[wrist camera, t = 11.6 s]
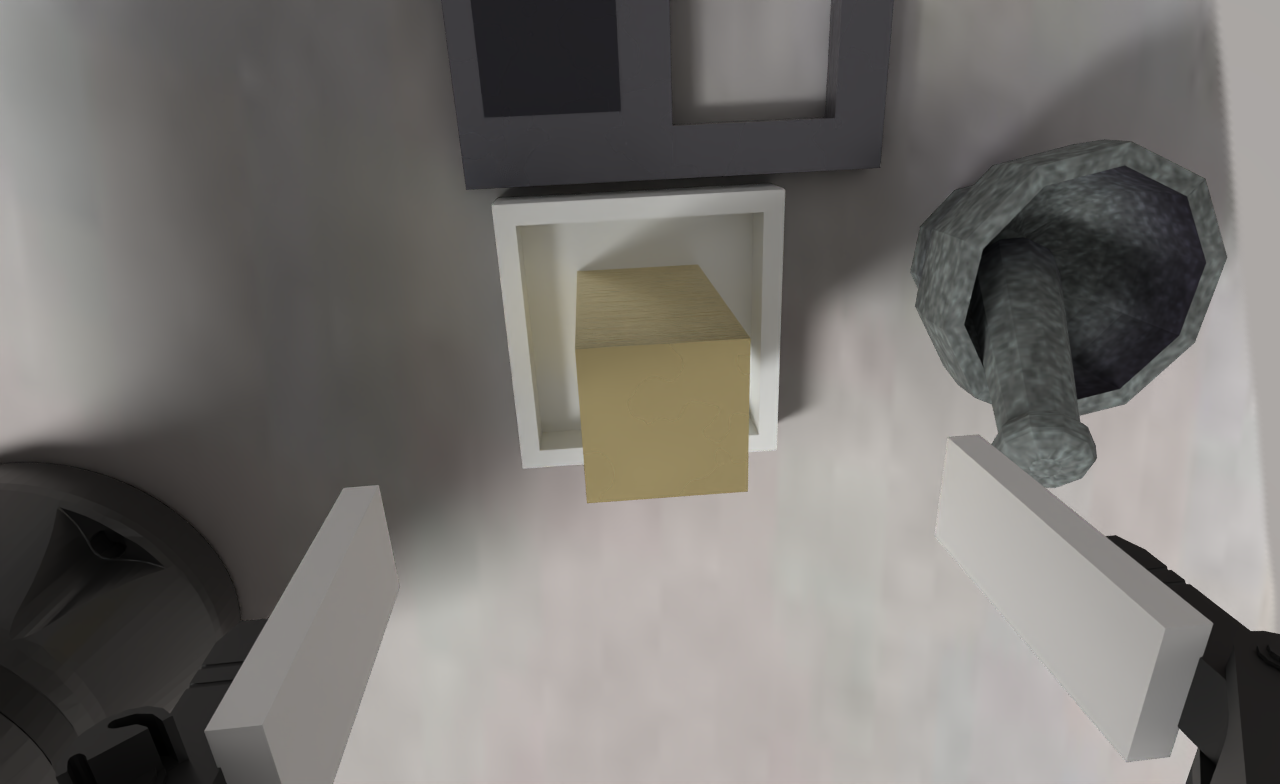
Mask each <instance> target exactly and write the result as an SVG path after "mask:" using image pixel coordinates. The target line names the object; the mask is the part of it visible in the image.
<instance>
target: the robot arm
mask: <svg viewBox="0 0 1280 784" xmlns="http://www.w3.org/2000/svg"><path fill="white" fill-rule="evenodd" d="M934 536H935V538H936V539H937V540H938V541H939V542H940V543H941V545H942V546H943V547H944V548H945V549H946V551H947V552H948V553H949V554H950V555H951V556H952V558H953V559H954V560H955V561H956V562H957V563H958V565H959V566H960V567H961V568H962V569H963V571H964V572H965V573H966V574H967V575H968V576H969V578H970V579H971V580H972V581H973V582H974V584H975V585H976V586H977V587H978V588H979V589H980V591H981V592H982V593H983V594H984V595H985V596H986V598H987V599H988V600H989V601H990V602H991V604H992V605H993V606H994V607H995V608H996V609H997V611H998V612H999V613H1000V614H1001V615H1002V617H1003V618H1004V619H1005V620H1006V621H1007V622H1008V624H1009V625H1010V626H1011V627H1012V628H1013V629H1014V631H1015V632H1016V633H1017V634H1018V635H1019V637H1020V638H1021V639H1022V640H1023V641H1024V642H1025V644H1026V645H1027V646H1028V647H1029V648H1030V649H1031V651H1032V652H1033V653H1034V654H1035V655H1036V657H1037V658H1038V659H1039V660H1040V661H1041V662H1042V664H1043V665H1044V666H1045V667H1046V668H1047V670H1048V671H1049V672H1050V673H1051V674H1052V675H1053V677H1054V678H1055V679H1056V680H1057V681H1058V682H1059V684H1060V685H1061V686H1062V687H1063V688H1064V690H1065V691H1066V692H1067V693H1068V694H1069V695H1070V697H1071V698H1072V699H1073V700H1074V701H1075V703H1076V704H1077V705H1078V706H1079V707H1080V708H1081V710H1082V711H1083V712H1084V713H1085V714H1086V715H1087V717H1088V718H1089V719H1090V720H1091V721H1092V723H1093V724H1094V725H1095V726H1096V727H1097V728H1098V730H1099V731H1100V732H1101V733H1102V734H1103V735H1104V737H1105V738H1106V739H1107V740H1108V741H1109V743H1110V744H1111V745H1112V746H1113V747H1114V748H1115V750H1116V751H1117V752H1118V753H1119V754H1120V756H1121V757H1122V758H1123V759H1124V760H1125V761H1126V762H1132V761H1140V760H1148V759H1157V758H1165V757H1170V755H1171V752H1172V749H1173V746H1174V743H1175V740H1176V737H1177V734H1178V731H1179V728H1180V730H1181V731H1182V732H1183V733H1184V734H1185V735H1186V736H1187V737H1188V738H1189V739H1190V740H1191V741H1192V742H1193V743H1194V744H1195V745H1196V746H1197V747H1198V749H1197V752H1196V755H1195V758H1194V761H1193V764H1192V767H1191V770H1190V772H1189V775H1188V778H1187V781H1186V784H1280V634H1276V633H1271V632H1266V631H1250V630H1249V629H1247V628H1246V627H1245V626H1243V625H1242V624H1241V623H1239V622H1238V621H1237V620H1236V619H1234V618H1233V617H1232V616H1230V615H1229V614H1228V613H1227V612H1225V611H1224V610H1223V609H1221V608H1220V607H1219V606H1217V605H1216V604H1215V603H1214V602H1212V601H1211V600H1210V599H1208V598H1207V597H1206V596H1205V595H1203V594H1202V593H1201V592H1199V591H1198V590H1197V589H1195V588H1194V587H1193V586H1192V585H1190V584H1186V583H1185V580H1184V579H1183V578H1181V577H1180V576H1179V575H1177V574H1176V573H1175V572H1173V571H1172V570H1168V569H1167V566H1166V565H1164V564H1163V563H1162V562H1161V561H1159V560H1158V559H1157V558H1155V557H1154V556H1153V555H1151V554H1150V553H1149V552H1148V551H1146V550H1145V549H1143V548H1141V547H1139V546H1137V545H1135V544H1133V543H1131V542H1128V541H1126V540H1124V539H1122V538H1120V537H1118V536H1116V535H1114V536H1104V535H1103V534H1102V533H1101V532H1099V531H1098V530H1097V529H1096V528H1094V527H1093V526H1092V525H1091V524H1089V523H1088V522H1087V521H1086V520H1084V519H1083V518H1082V517H1081V516H1079V515H1078V514H1077V513H1076V512H1074V511H1073V510H1072V509H1071V508H1070V507H1068V506H1067V505H1066V504H1065V503H1063V502H1062V501H1061V500H1060V499H1058V498H1057V497H1056V496H1055V495H1053V494H1052V493H1051V492H1050V491H1048V490H1047V489H1046V488H1045V487H1043V486H1042V485H1041V484H1040V483H1038V482H1037V481H1036V480H1035V479H1033V478H1032V477H1031V476H1030V475H1029V474H1027V473H1026V472H1025V471H1024V470H1022V469H1021V468H1020V467H1019V466H1017V465H1016V464H1015V463H1014V462H1012V461H1011V460H1010V459H1009V458H1007V457H1006V456H1005V455H1004V454H1002V453H1001V452H1000V451H999V450H997V449H996V448H995V447H994V446H993V445H991V444H990V443H989V442H988V441H986V440H985V439H984V438H983V437H981V436H980V435H967V436H955V437H948V438H947V446H946V453H945V461H944V468H943V476H942V483H941V491H940V498H939V506H938V513H937V520H936V528H935V535H934ZM399 588H400V584H399V579H398V575H397V570H396V565H395V560H394V555H393V551H392V546H391V541H390V536H389V531H388V526H387V522H386V517H385V512H384V507H383V502H382V498H381V493H380V488H379V485H371V486H360V487H348V488H343V490H342V491H341V493H340V495H339V497H338V498H337V500H336V502H335V504H334V505H333V507H332V509H331V511H330V512H329V514H328V516H327V518H326V519H325V521H324V523H323V525H322V526H321V528H320V530H319V532H318V533H317V535H316V537H315V539H314V540H313V542H312V544H311V546H310V547H309V549H308V551H307V553H306V554H305V556H304V558H303V559H302V561H301V563H300V565H299V566H298V568H297V570H296V572H295V573H294V575H293V577H292V579H291V580H290V582H289V584H288V586H287V587H286V589H285V591H284V593H283V594H282V596H281V598H280V600H279V601H278V603H277V605H276V607H275V608H274V610H273V612H272V614H271V615H270V617H269V619H260V620H249V621H240V609H239V604H238V599H237V595H236V592H235V589H234V586H233V583H232V581H231V579H230V577H229V574H228V572H227V570H226V569H225V567H224V565H223V563H222V562H221V560H220V559H219V557H218V556H217V554H216V553H215V551H214V550H213V549H212V548H211V546H210V545H209V544H208V543H207V541H206V540H205V539H204V538H203V537H202V536H201V535H200V534H199V533H198V532H197V531H196V530H195V529H194V528H193V527H192V526H191V525H190V524H189V523H188V522H186V521H185V520H184V519H183V518H182V517H181V516H179V515H178V514H177V513H175V512H174V511H173V510H171V509H170V508H168V507H167V506H166V505H164V504H163V503H161V502H160V501H158V500H156V499H155V498H153V497H151V496H149V495H148V494H146V493H144V492H142V491H140V490H138V489H136V488H134V487H132V486H130V485H127V484H125V483H123V482H121V481H118V480H115V479H113V478H110V477H107V476H104V475H101V474H98V473H95V472H91V471H87V470H83V469H79V468H74V467H69V466H63V465H56V464H47V463H27V462H23V463H5V464H0V784H333V782H334V779H335V776H336V773H337V771H338V768H339V765H340V762H341V759H342V756H343V753H344V750H345V747H346V744H347V741H348V738H349V735H350V732H351V729H352V726H353V723H354V721H355V718H356V715H357V712H358V709H359V706H360V703H361V700H362V697H363V694H364V691H365V688H366V685H367V682H368V679H369V676H370V673H371V671H372V668H373V665H374V662H375V659H376V656H377V653H378V650H379V647H380V644H381V641H382V638H383V635H384V632H385V629H386V626H387V623H388V621H389V618H390V615H391V612H392V609H393V606H394V603H395V600H396V597H397V594H398V591H399Z"/></svg>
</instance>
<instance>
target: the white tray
mask: <svg viewBox="0 0 1280 784" xmlns="http://www.w3.org/2000/svg"><path fill="white" fill-rule="evenodd" d="M491 206H492V215H493V223H494V232H495V240H496V248H497V257H498V265H499V274H500V282H501V290H502V299H503V307H504V316H505V324H506V332H507V341H508V349H509V358H510V366H511V374H512V383H513V391H514V400H515V408H516V416H517V425H518V433H519V442H520V450H521V458H522V467H523V469H527V468H541V467H554V466H568V465H581V464H584V458H583V446H582V433H581V420H580V407H579V395H578V382H577V369H576V357H575V329H576V294H577V271H591V270H609V269H627V268H644V267H662V266H680V265H699V267H700V268H701V269H702V271H703V272H704V274H705V275H706V276H707V278H708V279H709V281H710V282H711V283H712V285H713V286H714V288H715V289H716V290H717V292H718V293H719V295H720V296H721V297H722V299H723V300H724V302H725V303H726V305H727V306H728V307H729V309H730V310H731V312H732V313H733V314H734V316H735V317H736V319H737V320H738V321H739V323H740V324H741V326H742V327H743V328H744V330H745V331H746V333H747V334H748V335H749V337H750V338H751V345H750V396H749V447H748V452H758V451H772V450H777V426H778V396H779V366H780V335H781V305H782V275H783V244H784V214H785V189H783V188H781V187H779V186H776V185H774V184H772V183H766V184H747V185H728V186H710V187H691V188H672V189H653V190H635V191H616V192H597V193H578V194H560V195H541V196H522V197H503V198H497V199H496V200H495V202H494V203H493V204H492V205H491Z"/></svg>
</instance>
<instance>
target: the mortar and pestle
mask: <svg viewBox="0 0 1280 784" xmlns="http://www.w3.org/2000/svg"><path fill="white" fill-rule="evenodd" d="M1226 259H1227V255H1226V251H1225V248H1224V244H1223V241H1222V237H1221V233H1220V230H1219V226H1218V223H1217V219H1216V215H1215V212H1214V208H1213V205H1212V201H1211V197H1210V194H1209V190H1208V187H1207V183H1206V179H1205V178H1203V177H1201V176H1199V175H1197V174H1195V173H1193V172H1191V171H1189V170H1187V169H1185V168H1183V167H1181V166H1179V165H1177V164H1175V163H1173V162H1171V161H1169V160H1167V159H1165V158H1163V157H1161V156H1159V155H1157V154H1155V153H1153V152H1151V151H1149V150H1147V149H1145V148H1143V147H1141V146H1139V145H1137V144H1135V143H1133V142H1128V141H1115V140H1098V141H1092V142H1086V143H1080V144H1073V145H1069V146H1066V147H1062V148H1058V149H1054V150H1050V151H1046V152H1043V153H1039V154H1035V155H1031V156H1027V157H1023V158H1020V159H1016V160H1012V161H1008V162H1004V163H1000V164H997V165H993V166H992V167H991V168H990V169H989V170H988V171H987V172H986V173H985V174H984V175H983V176H982V177H981V178H980V179H979V180H978V182H977V183H976V184H975V185H973V186H969V187H965V188H962V189H958V190H954V192H953V193H952V194H951V195H950V196H949V197H948V198H947V199H946V200H945V201H944V202H943V203H942V204H941V205H940V206H939V207H938V208H937V210H936V211H935V212H934V213H933V214H932V215H931V216H930V217H929V218H928V219H927V220H926V221H925V222H924V223H923V224H922V225H921V226H920V230H919V235H918V239H917V244H916V249H915V253H914V258H913V262H912V267H911V274H912V277H913V279H914V281H915V283H916V285H917V287H918V293H917V298H916V304H915V307H916V309H917V311H918V313H919V315H920V317H921V319H922V321H923V324H924V326H925V328H926V330H927V332H928V334H929V336H930V338H931V340H932V342H933V345H934V347H935V349H936V351H937V353H938V355H939V357H940V359H941V361H942V363H943V366H944V367H945V368H946V370H947V371H948V372H949V374H950V375H951V376H952V378H953V379H954V380H955V382H956V383H957V384H958V385H959V386H960V387H962V388H963V389H964V390H966V391H967V392H968V393H970V394H971V395H972V396H973V397H975V398H977V399H979V400H982V401H984V402H987V403H990V404H992V406H993V411H994V415H995V420H996V425H997V429H998V434H997V436H996V438H995V439H994V441H993V443H992V444H991V445H993V446H994V447H995V448H996V449H997V450H999V451H1000V452H1001V453H1002V454H1004V455H1005V456H1006V457H1007V458H1009V459H1010V460H1011V461H1012V462H1014V463H1015V464H1016V465H1017V466H1019V467H1020V468H1021V469H1022V470H1024V471H1025V472H1026V473H1027V474H1029V475H1030V476H1031V477H1032V478H1033V479H1035V480H1036V481H1037V482H1038V483H1040V484H1041V485H1042V486H1043V487H1045V488H1056V487H1059V486H1062V485H1065V484H1067V483H1070V482H1073V481H1076V480H1079V479H1081V478H1082V477H1083V476H1084V475H1085V474H1086V472H1087V471H1088V470H1089V468H1090V467H1091V466H1092V465H1093V463H1094V462H1095V460H1096V458H1097V455H1096V445H1095V443H1094V441H1093V438H1092V436H1091V433H1090V431H1089V429H1088V427H1087V426H1086V425H1084V424H1082V423H1081V422H1080V417H1079V416H1080V415H1084V414H1088V413H1092V412H1096V411H1100V410H1104V409H1108V408H1112V407H1116V406H1120V405H1124V404H1126V403H1127V402H1128V401H1130V400H1131V399H1132V398H1133V397H1134V396H1135V395H1136V394H1137V393H1139V392H1140V391H1141V390H1142V389H1143V388H1144V387H1145V386H1146V385H1148V384H1149V383H1150V382H1151V381H1152V380H1153V379H1154V378H1155V377H1157V376H1158V375H1159V374H1160V373H1161V372H1162V371H1163V370H1164V369H1166V368H1167V367H1168V366H1169V365H1170V364H1171V363H1172V362H1173V361H1174V360H1176V359H1177V358H1178V357H1179V356H1180V355H1181V354H1182V353H1183V352H1185V351H1186V350H1187V349H1188V348H1189V347H1190V346H1191V345H1192V344H1194V343H1195V341H1196V338H1197V335H1198V333H1199V330H1200V327H1201V325H1202V322H1203V320H1204V317H1205V314H1206V312H1207V309H1208V306H1209V304H1210V301H1211V298H1212V296H1213V293H1214V291H1215V288H1216V285H1217V283H1218V280H1219V277H1220V275H1221V272H1222V270H1223V267H1224V264H1225V262H1226Z"/></svg>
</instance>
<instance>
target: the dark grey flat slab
mask: <svg viewBox="0 0 1280 784" xmlns="http://www.w3.org/2000/svg"><path fill="white" fill-rule="evenodd" d="M441 1H442V8H443V16H444V24H445V31H446V39H447V47H448V54H449V62H450V69H451V77H452V85H453V92H454V100H455V108H456V115H457V123H458V131H459V138H460V146H461V153H462V161H463V169H464V176H465V184H466V190H468V189H487V188H506V187H525V186H544V185H563V184H582V183H601V182H620V181H639V180H658V179H677V178H696V177H715V176H734V175H753V174H772V173H791V172H810V171H829V170H848V169H867V168H880V162H881V150H882V137H883V125H884V113H885V100H886V88H887V75H888V63H889V51H890V38H891V26H892V13H893V1H894V0H831V15H830V34H829V54H828V73H827V93H826V112H825V117H823V118H803V119H782V120H762V121H741V122H720V123H700V124H679V125H672V86H671V44H670V3H669V0H441Z"/></svg>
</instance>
